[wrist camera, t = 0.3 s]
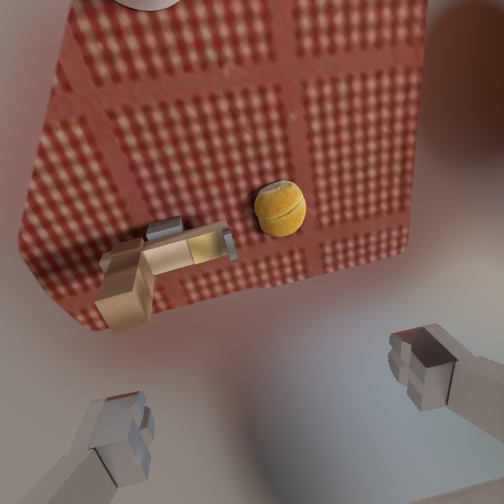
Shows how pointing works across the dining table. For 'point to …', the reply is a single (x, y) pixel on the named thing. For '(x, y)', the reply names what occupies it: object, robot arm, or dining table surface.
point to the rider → (127, 288)
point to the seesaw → (182, 245)
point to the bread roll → (280, 208)
